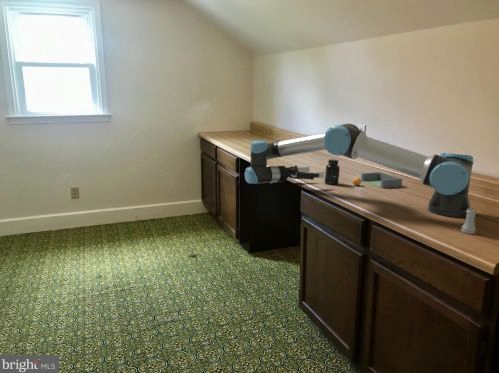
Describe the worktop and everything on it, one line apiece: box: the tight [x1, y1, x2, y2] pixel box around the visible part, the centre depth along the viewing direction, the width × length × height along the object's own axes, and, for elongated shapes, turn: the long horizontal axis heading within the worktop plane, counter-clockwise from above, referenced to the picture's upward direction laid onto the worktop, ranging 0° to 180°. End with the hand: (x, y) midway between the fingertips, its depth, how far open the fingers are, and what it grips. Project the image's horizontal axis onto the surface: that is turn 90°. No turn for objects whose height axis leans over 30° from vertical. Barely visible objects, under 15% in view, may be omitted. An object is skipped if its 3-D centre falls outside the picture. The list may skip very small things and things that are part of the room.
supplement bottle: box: [324, 158, 341, 186], centre depth 204 cm, size 7×7×12 cm
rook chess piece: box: [460, 208, 478, 235], centre depth 138 cm, size 4×4×8 cm
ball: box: [352, 177, 362, 186], centre depth 202 cm, size 4×4×4 cm
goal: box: [360, 171, 403, 189], centre depth 208 cm, size 12×17×4 cm
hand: (316, 171), depth 201 cm, fingers open, 13 cm apart
